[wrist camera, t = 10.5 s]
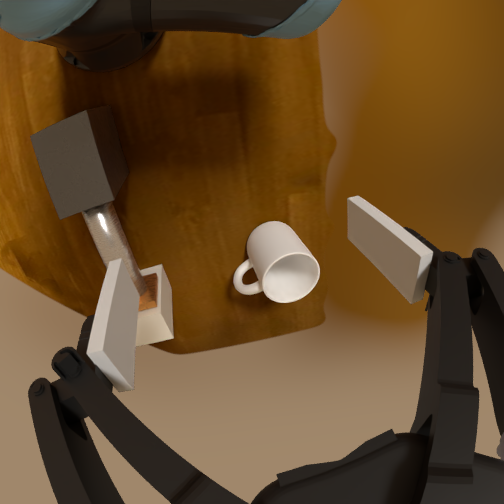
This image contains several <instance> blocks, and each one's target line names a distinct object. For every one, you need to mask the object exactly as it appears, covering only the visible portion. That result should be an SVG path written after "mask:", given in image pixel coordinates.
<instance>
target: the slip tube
mask: <svg viewBox="0 0 504 504" xmlns="http://www.w3.org/2000/svg"><path fill="white" fill-rule="evenodd" d="M81 213H82V215H83V218H84V220H85V222H86V225H87V227H88V229H89V232H90V234H91V236H92V239H93V241H94V243H95V245H96V247H97V250H98V252H99V254H100V256H101V258H102V260H103V262H104V265H105V267H106V269H108V265H109V262H110V261H113V260H117V259H120V258H122V260H123V262H124V264H125V266H126V268H127V271H128V273H129V275H130V277H131V279H132V281H133V283H134V285H135V287H136V290H137V292H138V294H139V296H140V299H139V309H138V311H141V310H145V309H149V308H153V307H157V297H158V276H157V274H156V273H152V274H149V275H145V276H142V274H141V272H140V270H139V267H138V265H137V263H136V260H135V258H134V256H133V253H132V251H131V249H130V246H129V244H128V241H127V239H126V236H125V234H124V231H123V229H122V226H121V224H120V221H119V219H118V216H117V213H116V211H115V208H114V205H113V203H112V201H110V202H107V203H104V204H101V205H98V206H95V207H93V208H90V209H87V210H84V211H82V212H81Z"/></svg>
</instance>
